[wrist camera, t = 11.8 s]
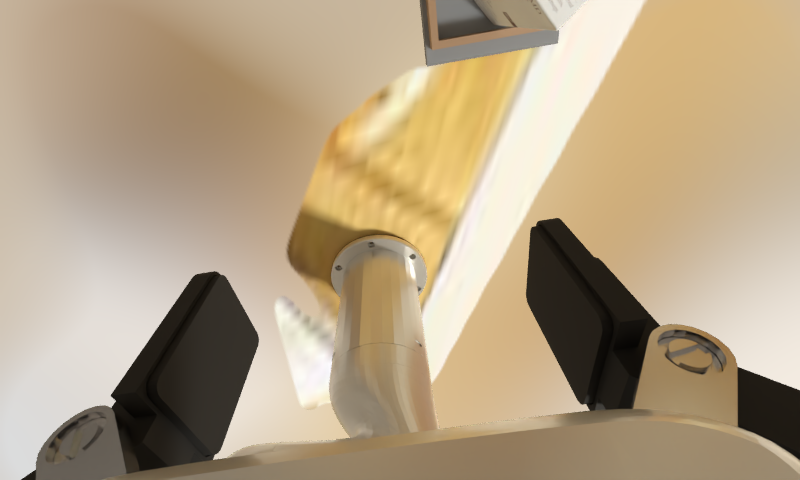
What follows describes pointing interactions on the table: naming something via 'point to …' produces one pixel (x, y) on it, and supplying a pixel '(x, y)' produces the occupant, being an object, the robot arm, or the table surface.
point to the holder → (471, 33)
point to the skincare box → (530, 12)
